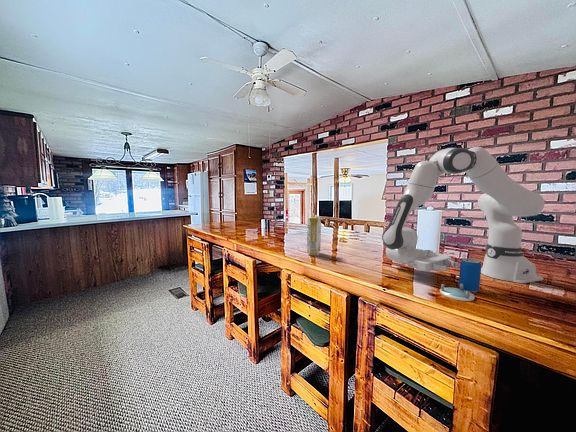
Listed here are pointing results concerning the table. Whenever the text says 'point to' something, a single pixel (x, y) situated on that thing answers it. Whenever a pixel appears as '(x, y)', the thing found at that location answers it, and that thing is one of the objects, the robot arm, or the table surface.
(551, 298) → the table surface
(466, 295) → the pin cradle
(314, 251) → the juice carton
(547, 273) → the table surface
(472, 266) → the beverage can
